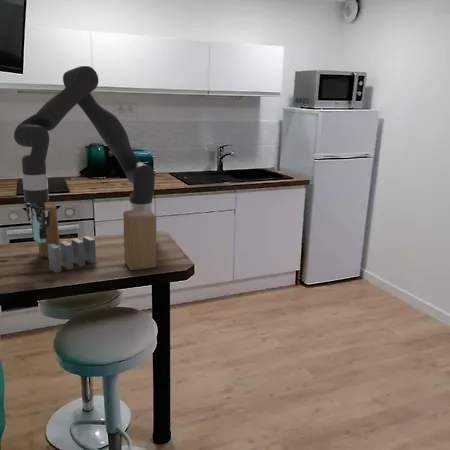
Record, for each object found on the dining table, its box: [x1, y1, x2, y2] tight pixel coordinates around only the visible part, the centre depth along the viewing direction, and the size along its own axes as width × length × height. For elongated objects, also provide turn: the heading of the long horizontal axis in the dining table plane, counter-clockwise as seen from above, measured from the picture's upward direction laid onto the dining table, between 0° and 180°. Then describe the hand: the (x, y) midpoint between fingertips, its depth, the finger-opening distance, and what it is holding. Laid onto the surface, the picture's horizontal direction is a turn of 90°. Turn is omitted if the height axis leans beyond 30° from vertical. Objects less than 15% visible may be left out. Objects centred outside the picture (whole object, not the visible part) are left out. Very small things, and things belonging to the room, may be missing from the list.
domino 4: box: [71, 238, 86, 267], centre depth 164 cm, size 2×5×9 cm, turn 45°
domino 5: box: [82, 235, 97, 264], centre depth 167 cm, size 2×5×9 cm, turn 45°
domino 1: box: [32, 215, 46, 243], centre depth 151 cm, size 2×5×9 cm, turn 45°
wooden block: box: [122, 209, 157, 271], centre depth 164 cm, size 10×10×20 cm
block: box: [37, 201, 60, 259], centre depth 171 cm, size 11×8×20 cm
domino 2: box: [48, 244, 62, 274], centre depth 158 cm, size 2×5×9 cm, turn 45°
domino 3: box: [59, 240, 74, 270], centre depth 161 cm, size 2×5×9 cm, turn 45°
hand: (39, 236), depth 152 cm, fingers closed on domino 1, 5 cm apart
